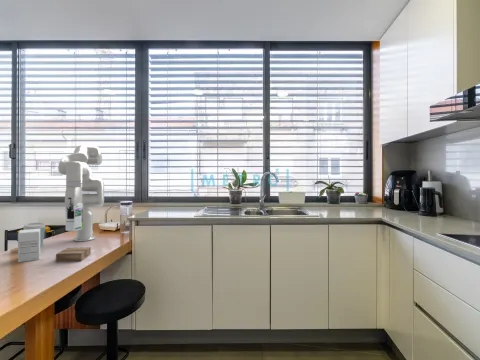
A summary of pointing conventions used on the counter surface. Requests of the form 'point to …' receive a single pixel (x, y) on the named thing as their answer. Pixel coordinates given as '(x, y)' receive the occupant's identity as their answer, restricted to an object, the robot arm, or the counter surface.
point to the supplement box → (28, 245)
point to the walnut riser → (73, 254)
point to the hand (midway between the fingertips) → (74, 217)
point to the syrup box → (75, 218)
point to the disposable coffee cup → (36, 226)
